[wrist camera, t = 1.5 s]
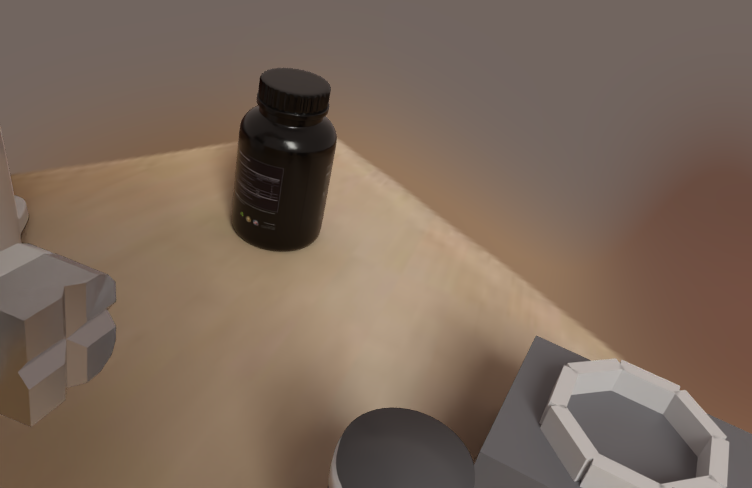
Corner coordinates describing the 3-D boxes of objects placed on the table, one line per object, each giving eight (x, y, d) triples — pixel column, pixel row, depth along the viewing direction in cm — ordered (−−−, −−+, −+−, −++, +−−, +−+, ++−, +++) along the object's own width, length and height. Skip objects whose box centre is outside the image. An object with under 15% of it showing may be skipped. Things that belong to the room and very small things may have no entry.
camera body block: (445, 532, 35) (489, 428, 31) (503, 409, 43) (545, 314, 39) (688, 667, 32) (772, 571, 28) (702, 508, 40) (770, 415, 36)
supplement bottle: (269, 195, 58) (290, 54, 52) (336, 232, 56) (367, 88, 49) (209, 224, 53) (224, 71, 46) (280, 266, 50) (306, 110, 44)
